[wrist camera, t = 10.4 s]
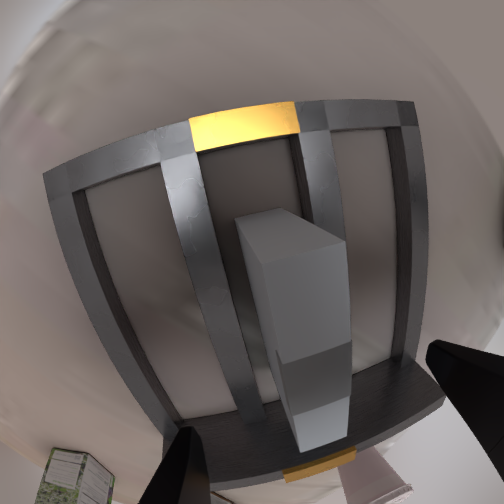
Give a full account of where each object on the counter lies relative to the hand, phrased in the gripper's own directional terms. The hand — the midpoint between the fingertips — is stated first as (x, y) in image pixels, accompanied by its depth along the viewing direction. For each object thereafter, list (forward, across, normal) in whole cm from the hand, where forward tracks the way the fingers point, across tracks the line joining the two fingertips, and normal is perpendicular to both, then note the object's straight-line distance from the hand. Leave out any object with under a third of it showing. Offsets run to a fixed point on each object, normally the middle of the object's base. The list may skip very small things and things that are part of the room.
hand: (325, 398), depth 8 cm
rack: (+8, 0, 0) cm, 8 cm away
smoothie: (+8, -5, +20) cm, 22 cm away
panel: (+8, 0, 0) cm, 8 cm away
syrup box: (+8, +24, +16) cm, 30 cm away
